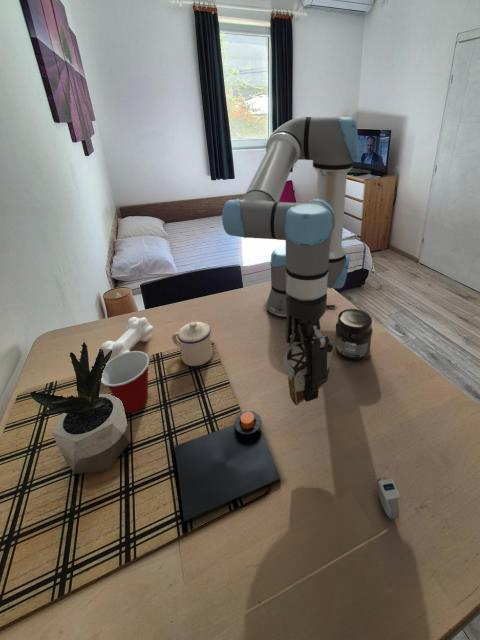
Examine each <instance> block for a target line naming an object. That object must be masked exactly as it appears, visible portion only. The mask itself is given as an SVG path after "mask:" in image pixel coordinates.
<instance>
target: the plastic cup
mask: <svg viewBox="0 0 480 640" xmlns="http://www.w3.org/2000/svg"><path fill="white" fill-rule="evenodd" d="M105 364H106V366H105V368H104V370H103V373H102V378H101V382H100V383H102V384H103V385H104V386H106V387H107V388H108V390H109V391H110V392H111V393H110V394H112V396H113V397H114V396H115V397H117V398H119V399H120V400H121V401H122V403H123V406H124V408H125V411H126V412H125V411H124V412H125V413H129V414H132V413H136V412H138V411H140V410H142V409H143V408H145V406H146V405H147V403H148V400H149V364H150V358H149V355H148V353H146V352H144V351H139V350H132V351H131V350H130V352H126V353H123V354H121V355H118V356H116V357H114V358H113V359H111V360H110V361H108V362H107V363H105ZM115 397H114V398H115Z"/></svg>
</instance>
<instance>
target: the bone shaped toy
mask: <svg viewBox="0 0 480 640" xmlns="http://www.w3.org/2000/svg"><path fill="white" fill-rule="evenodd" d="M153 331H154V326H153V325H151V324H150V322H149V321H148V319H147V318H146V317H145V316H144V317H136V316H133V317H130V318H129V319H128V320H127V326H126V327H125V330H124V333H123V334H122V335H121V336H120V337H119V338H118V339H117V340H115V341H114V340H106V341H104V342H103V343H102V344H101V347H100V349H101V351H102V350H103V351H104V355H105V356H106V355H107V354H108V353H109V352H110V351H111V350H112V354H111V357H110V359H109V361H110V360H111V359H113V358H114V357H116V356H118V355H121V354H123V353H126V352H131V350H132V349H134V347H135V346H136V344H137V343H138V342H148V341H149V340H150V339H151V337H152V335H151V334H152V333H153Z"/></svg>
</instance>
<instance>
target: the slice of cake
mask: <svg viewBox="0 0 480 640" xmlns="http://www.w3.org/2000/svg"><path fill="white" fill-rule="evenodd" d="M306 340H307V339H306ZM335 350H336V349H335V342H334V341H332V340H329V344H328V347H327V380H325V381H322V382H319V389H321V388H322V387H324V386H325V385H327V384H328V383H329V380H330V375H331V369H332V363H333V356H334V351H335ZM282 363H283V370H284V372H285V374H286V376H287V381H288V391H289V397H290V400H291V402H292V403H293V404H294V405H295V406H296V407H297V406H298V405H300V404H301V403H303V402H304V401H305V378H304V376H305V375H306V374H307V365H306V357H305V349H304V345H303V344H302V343H301V342H294V343H293V344H292V345H291V346H290V347H289V346H288V348H287V350H286V352H285V354H284V358H283V362H282Z"/></svg>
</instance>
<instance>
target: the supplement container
mask: <svg viewBox="0 0 480 640" xmlns="http://www.w3.org/2000/svg"><path fill="white" fill-rule="evenodd" d="M372 323H373V319H372V316H371V315H370V314H369V313H368V312H366V311H364V310H362V309H358V308H346V309H344V310H342V311H340V312H339V314H338V316H337V322H336V323H335V334H334V335H335V337H334V343H335V344H334V345H335V349H336V350H334V351H335V353H336V354H337V356H339V357H340V358H341V359H342V360H345V361H349V362H361V361H365V359H367V358H368V357H369V356H370V353H371V344H372V337H373V333H374V329H373V326H372Z"/></svg>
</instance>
